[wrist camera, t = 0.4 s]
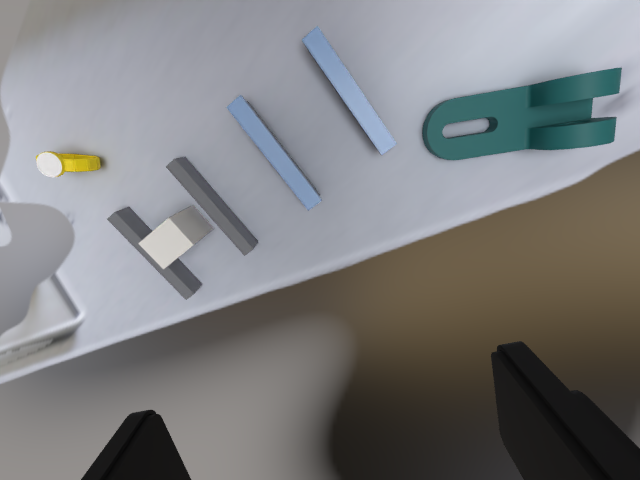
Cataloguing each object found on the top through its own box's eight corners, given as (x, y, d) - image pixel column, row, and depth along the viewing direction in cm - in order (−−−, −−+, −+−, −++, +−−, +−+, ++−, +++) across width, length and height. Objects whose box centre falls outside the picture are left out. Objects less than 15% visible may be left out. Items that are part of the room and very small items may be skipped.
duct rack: (120, 212, 44) (101, 219, 40) (318, 36, 37) (317, 25, 33) (195, 290, 47) (184, 304, 43) (390, 142, 40) (396, 143, 36)
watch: (108, 151, 42) (77, 154, 36) (110, 173, 43) (80, 179, 37) (58, 146, 41) (19, 149, 36) (61, 169, 42) (24, 175, 36)
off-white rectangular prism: (166, 227, 44) (138, 243, 38) (193, 204, 43) (168, 217, 37) (187, 249, 45) (163, 269, 38) (214, 228, 44) (193, 245, 37)
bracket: (579, 77, 38) (641, 63, 30) (575, 138, 40) (632, 139, 32) (420, 105, 39) (441, 98, 31) (423, 162, 41) (445, 169, 33)
